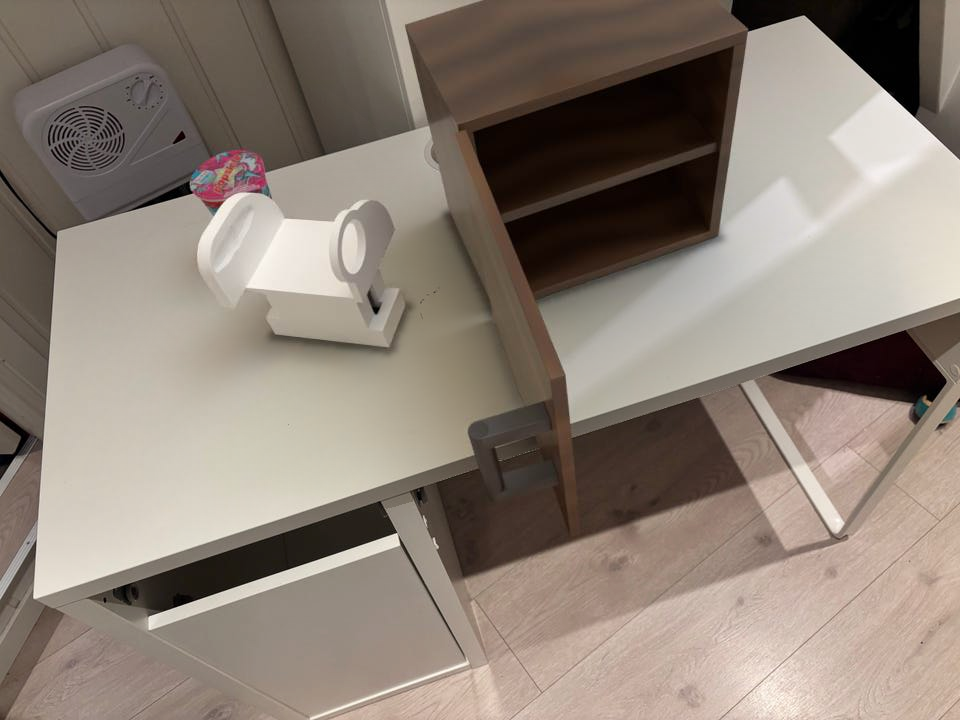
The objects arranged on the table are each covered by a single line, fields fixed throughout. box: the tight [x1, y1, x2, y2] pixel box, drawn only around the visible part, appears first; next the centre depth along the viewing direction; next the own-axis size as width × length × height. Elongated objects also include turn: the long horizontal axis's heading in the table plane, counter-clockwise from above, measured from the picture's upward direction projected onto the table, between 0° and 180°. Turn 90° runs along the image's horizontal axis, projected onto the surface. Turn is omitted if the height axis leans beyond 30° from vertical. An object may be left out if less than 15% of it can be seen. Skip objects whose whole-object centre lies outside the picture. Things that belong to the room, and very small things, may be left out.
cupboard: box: [404, 0, 749, 300], centre depth 77 cm, size 18×26×24 cm
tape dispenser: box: [196, 193, 406, 348], centre depth 76 cm, size 14×13×18 cm
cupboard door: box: [455, 130, 582, 539], centre depth 63 cm, size 7×26×24 cm, turn 14°
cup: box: [189, 149, 274, 217], centre depth 88 cm, size 9×8×12 cm
